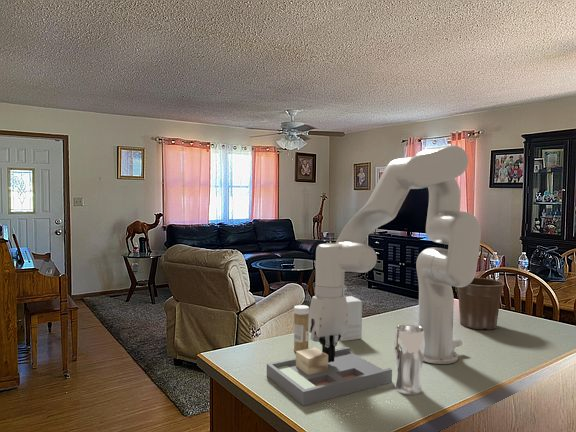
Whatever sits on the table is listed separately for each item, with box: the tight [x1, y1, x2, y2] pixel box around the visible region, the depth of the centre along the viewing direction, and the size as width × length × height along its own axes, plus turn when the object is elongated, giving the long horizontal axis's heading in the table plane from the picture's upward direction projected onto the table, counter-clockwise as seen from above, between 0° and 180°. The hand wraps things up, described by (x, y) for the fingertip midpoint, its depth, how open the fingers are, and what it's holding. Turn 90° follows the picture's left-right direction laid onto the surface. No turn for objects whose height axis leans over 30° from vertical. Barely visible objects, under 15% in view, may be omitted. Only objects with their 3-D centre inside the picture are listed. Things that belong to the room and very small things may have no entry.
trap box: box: [266, 346, 393, 407], centre depth 110 cm, size 26×18×3 cm
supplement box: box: [339, 295, 363, 342], centre depth 142 cm, size 7×7×13 cm
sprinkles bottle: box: [293, 304, 310, 353], centre depth 129 cm, size 5×5×13 cm
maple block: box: [295, 347, 328, 375], centre depth 111 cm, size 6×6×4 cm
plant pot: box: [456, 277, 505, 331], centre depth 156 cm, size 16×16×16 cm
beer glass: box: [394, 323, 425, 396], centre depth 104 cm, size 7×7×15 cm
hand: (328, 360), depth 114 cm, fingers closed
